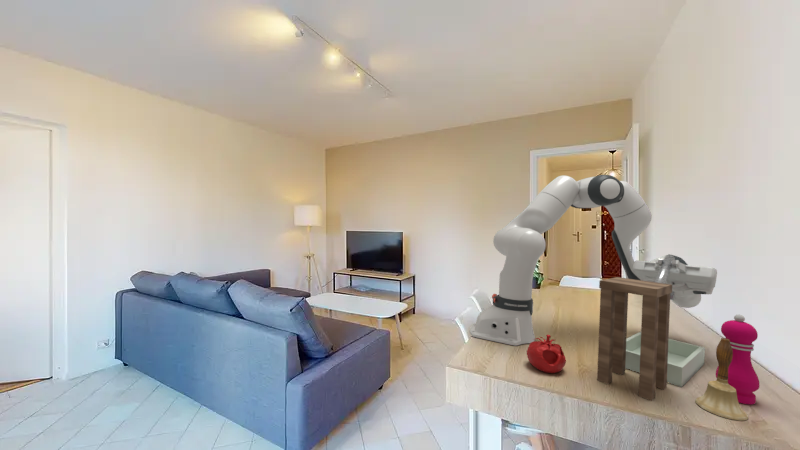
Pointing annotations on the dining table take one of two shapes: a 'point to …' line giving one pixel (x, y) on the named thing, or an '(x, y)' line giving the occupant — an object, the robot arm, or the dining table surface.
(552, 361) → the pomegranate
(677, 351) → the tray
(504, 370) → the dining table surface
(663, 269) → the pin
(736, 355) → the pepper mill
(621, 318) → the stand
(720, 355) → the hand bell
